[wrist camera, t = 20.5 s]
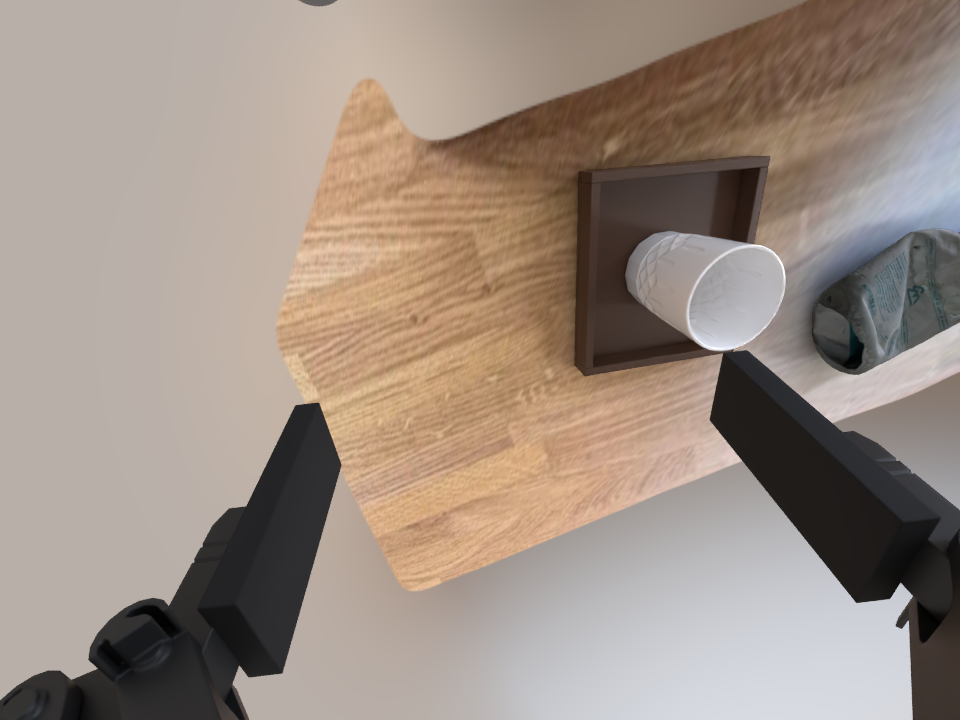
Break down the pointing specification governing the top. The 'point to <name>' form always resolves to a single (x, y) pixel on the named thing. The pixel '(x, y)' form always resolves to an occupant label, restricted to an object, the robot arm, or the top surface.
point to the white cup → (707, 286)
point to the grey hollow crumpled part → (890, 302)
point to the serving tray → (630, 220)
